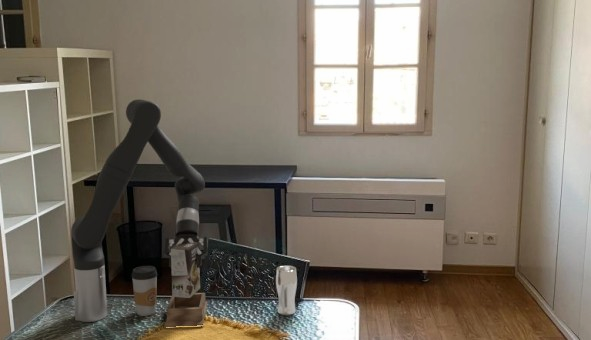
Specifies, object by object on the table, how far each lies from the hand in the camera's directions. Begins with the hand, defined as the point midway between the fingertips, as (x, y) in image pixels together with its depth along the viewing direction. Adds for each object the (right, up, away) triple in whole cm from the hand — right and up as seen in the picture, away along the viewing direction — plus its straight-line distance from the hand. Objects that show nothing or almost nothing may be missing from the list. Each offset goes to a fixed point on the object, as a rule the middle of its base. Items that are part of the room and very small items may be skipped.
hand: (185, 267), depth 178 cm
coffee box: (0, -9, +3) cm, 9 cm away
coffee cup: (-14, -17, +6) cm, 23 cm away
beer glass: (+33, -16, +6) cm, 37 cm away
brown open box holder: (0, -17, +4) cm, 17 cm away
